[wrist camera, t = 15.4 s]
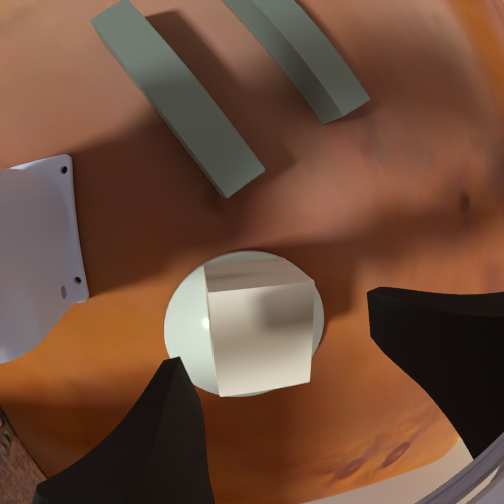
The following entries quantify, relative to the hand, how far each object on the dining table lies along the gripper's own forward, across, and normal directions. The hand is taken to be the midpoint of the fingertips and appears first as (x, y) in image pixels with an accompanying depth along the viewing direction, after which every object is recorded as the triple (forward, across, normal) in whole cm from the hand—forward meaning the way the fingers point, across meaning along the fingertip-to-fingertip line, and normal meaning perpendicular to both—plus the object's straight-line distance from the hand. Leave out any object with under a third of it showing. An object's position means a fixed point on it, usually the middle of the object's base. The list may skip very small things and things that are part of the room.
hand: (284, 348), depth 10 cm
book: (+10, +33, +17) cm, 39 cm away
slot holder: (+10, -3, -14) cm, 17 cm away
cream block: (+9, 0, +2) cm, 9 cm away
